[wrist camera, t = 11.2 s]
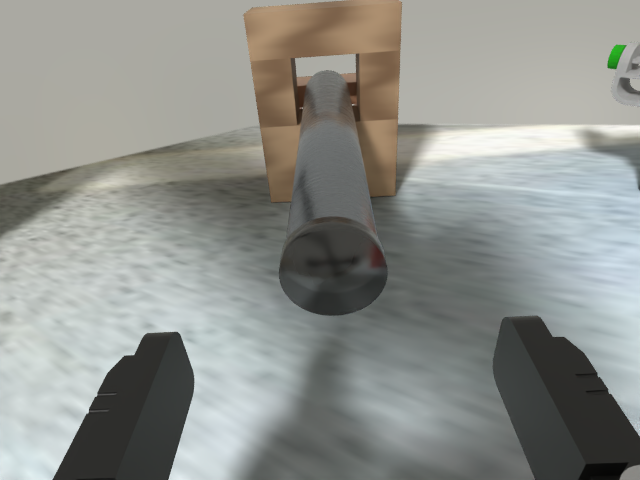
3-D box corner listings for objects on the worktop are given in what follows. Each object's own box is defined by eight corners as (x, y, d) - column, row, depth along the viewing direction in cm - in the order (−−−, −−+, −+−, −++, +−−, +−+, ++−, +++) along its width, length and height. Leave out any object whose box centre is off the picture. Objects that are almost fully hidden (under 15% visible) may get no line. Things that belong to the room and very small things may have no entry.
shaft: (386, 313, 14) (388, 227, 12) (285, 317, 14) (272, 233, 13) (351, 115, 32) (349, 67, 30) (305, 118, 32) (301, 70, 30)
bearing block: (271, 202, 35) (243, 14, 27) (275, 180, 38) (252, 7, 30) (395, 195, 34) (401, 2, 27) (388, 174, 38) (393, -3, 30)
